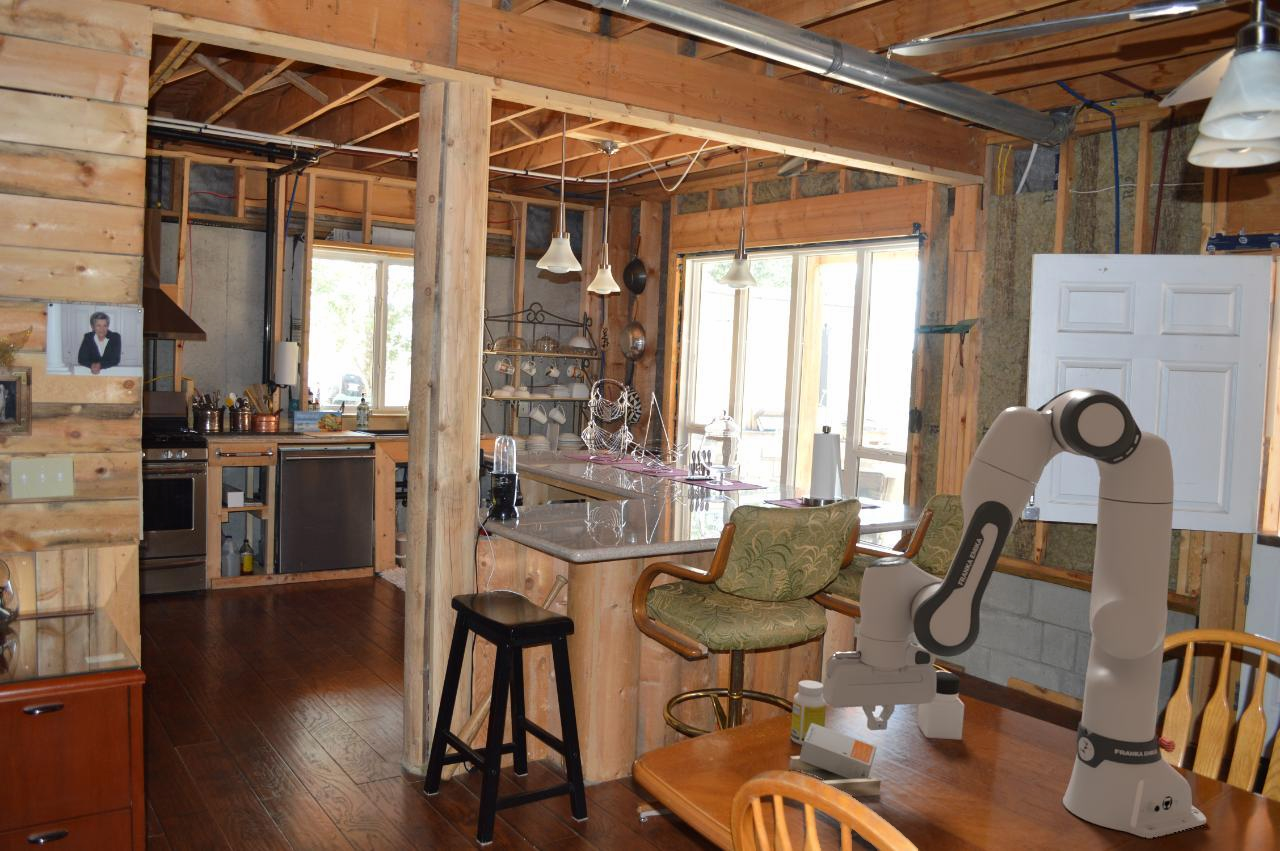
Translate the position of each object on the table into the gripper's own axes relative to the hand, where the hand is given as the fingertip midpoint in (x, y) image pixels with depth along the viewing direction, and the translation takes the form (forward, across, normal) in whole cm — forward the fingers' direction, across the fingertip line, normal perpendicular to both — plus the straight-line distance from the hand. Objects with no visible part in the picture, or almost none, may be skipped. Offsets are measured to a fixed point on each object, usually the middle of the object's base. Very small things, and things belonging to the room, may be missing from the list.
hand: (876, 728), depth 177 cm
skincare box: (+6, 0, 0) cm, 6 cm away
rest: (+9, -7, 0) cm, 12 cm away
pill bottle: (+9, -4, +18) cm, 21 cm away
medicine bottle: (+10, +25, +19) cm, 33 cm away
